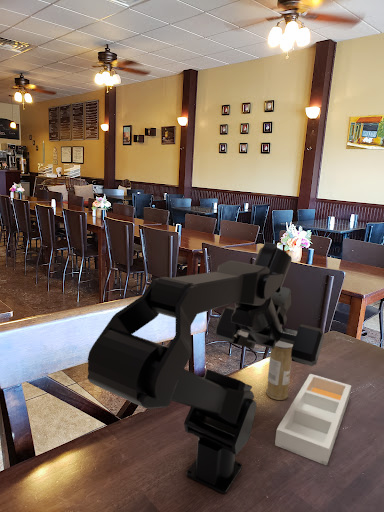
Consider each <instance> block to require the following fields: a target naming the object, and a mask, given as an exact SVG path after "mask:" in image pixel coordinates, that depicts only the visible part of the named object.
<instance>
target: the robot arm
mask: <svg viewBox="0 0 384 512" xmlns="http://www.w3.org/2000/svg"><path fill="white" fill-rule="evenodd" d="M292 260H293V259H292V256H291V255H290V254H288V253H287V252H286V251H285V250H283V249H281V248H279V247H278V245H277V244H276V243H271V242H264V244H263V246H262V247H260V249H259V250H258V253H257V255H256V257H255V259H254V262H253V264H251V263H247V262H240V261H236V260H231V259H230V260H228V261H226V262H225V261H224V262H223V263H221V264H219V265H218V266H217V270H216V271H212V272H204V273H196V274H189V275H183V276H175V277H167V276H161V277H157V278H154V279H153V280H152V281H151V282H150V283H149V285H148V286H147V288H146V289H145V291H144V292H143V294H142V295H141V296H140V297H138V298H137V299H136V300H134V301H132V302H131V303H130V304H128V305H127V306H125V307H123V308H122V309H120V310H118V312H115V314H114V315H112V317H111V319H110V321H108V323H107V324H106V326H105V328H104V329H103V330H102V332H101V333H100V334H99V336H98V337H97V338H96V341H95V342H94V343H93V345H92V347H91V348H90V350H89V352H88V356H87V373H88V374H87V380H88V382H89V383H90V384H92V385H94V386H95V387H98V388H100V389H102V390H104V391H106V392H109V393H110V394H112V395H114V396H115V395H116V396H117V397H120V398H123V399H124V400H127V401H129V402H130V403H133V404H135V405H138V406H139V407H142V408H143V409H147V410H153V409H163V408H167V407H169V406H170V404H171V402H174V403H178V404H181V405H184V406H188V407H190V408H189V411H188V413H187V415H186V418H185V420H184V421H183V422H184V423H183V426H184V431H185V433H187V434H191V435H194V436H196V437H197V445H196V446H197V447H196V459H195V460H194V462H193V463H191V465H190V466H189V468H188V469H187V470H186V472H185V474H186V477H188V478H190V479H192V480H194V481H196V482H198V483H201V484H202V485H204V486H207V487H209V488H210V489H213V490H215V491H217V492H219V493H221V494H226V493H227V492H228V491H229V489H230V488H231V486H232V484H233V483H234V481H235V479H236V478H237V477H238V475H239V474H240V472H241V470H242V467H243V465H242V463H240V462H239V461H236V456H237V455H238V454H239V452H240V451H242V449H243V448H244V447H245V445H246V443H248V441H249V439H250V437H251V433H252V428H253V425H254V420H255V417H256V410H257V401H256V400H255V395H254V392H253V391H252V388H253V386H252V385H250V384H248V383H245V382H244V381H242V380H240V379H238V378H237V379H236V378H234V377H232V376H228V375H225V374H222V373H220V372H217V371H214V370H211V369H210V368H209V369H208V368H206V370H205V374H204V376H203V377H202V376H200V375H198V374H196V373H194V372H192V371H190V370H187V369H185V367H186V366H187V365H188V362H189V361H190V359H191V356H192V325H193V323H194V321H195V319H196V317H197V316H198V315H199V314H202V313H205V312H209V311H212V310H215V309H218V308H222V307H225V306H226V307H225V308H224V309H222V312H221V313H220V317H219V319H218V320H217V323H216V325H215V327H214V328H215V329H214V332H215V335H216V337H217V338H218V340H221V341H225V342H227V343H230V344H234V345H237V346H242V347H244V348H249V349H253V350H254V348H255V346H256V345H258V346H262V347H265V348H268V349H271V348H272V349H274V347H275V344H276V343H277V342H278V341H282V342H286V343H289V344H293V347H292V352H291V362H294V363H298V364H300V365H305V366H310V367H313V366H316V365H317V363H318V360H319V357H320V354H321V353H320V352H321V350H322V346H323V343H324V341H325V340H324V339H325V333H324V331H323V329H322V328H320V327H315V326H311V325H307V324H302V323H301V324H300V325H299V326H298V329H297V330H294V329H290V328H286V327H283V326H285V325H286V324H287V322H288V321H287V320H288V317H287V315H286V314H287V312H288V311H289V309H290V307H291V305H292V295H291V293H292V292H291V291H292V290H291V288H288V287H285V286H283V284H284V281H285V280H286V276H287V274H288V271H289V268H290V266H291V263H292ZM232 304H234V306H235V307H232V306H228V305H232ZM159 314H160V315H163V316H167V317H170V318H174V319H175V335H174V338H172V341H171V342H170V344H169V345H168V346H167V345H164V344H161V343H158V342H156V341H152V340H149V339H146V338H144V337H140V336H137V335H135V333H136V332H138V330H141V329H142V328H144V327H145V326H146V325H148V324H149V323H151V322H152V321H153V320H155V319H156V318H157V317H158V316H159ZM290 334H291V335H290Z"/></svg>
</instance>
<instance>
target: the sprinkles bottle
mask: <svg viewBox="0 0 384 512" xmlns="http://www.w3.org/2000/svg"><path fill="white" fill-rule="evenodd" d="M290 335H291V334H290ZM292 347H293V344H289V343H286V342H282V341H278V342H277V343H276V344H275V347H274V349H272V348H270V356H269V362H268V374H267V385H266V386H267V388H266V390H265V391H266V392H265V393H266V395H267V396H268V397H269V398H271V399H272V400H277V401H282V400H283V401H285V400H286V399H287V398H288V396H289V385H290V384H289V383H290V377H291V366H292V361H291V360H292V358H291V352H292Z"/></svg>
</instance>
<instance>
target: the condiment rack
mask: <svg viewBox="0 0 384 512" xmlns="http://www.w3.org/2000/svg"><path fill="white" fill-rule="evenodd" d="M351 390H352V385H350V384H348V383H344V382H340V381H336V380H333V379H331V378H326V377H323V376H320V375H316V374H312V373H309V375H308V376H307V378H306V380H305V381H304V383H303V385H302V386H301V388H300V390H299V392H298V393H297V394H296V397H295V398H294V399H293V401H292V403H291V404H290V406H289V408H288V410H287V412H286V413H285V415H284V416H283V418H282V420H281V421H280V423H279V425H278V426H277V428H276V432H275V439H274V440H275V441H274V446H276V447H278V448H281V449H283V450H287V451H289V452H291V453H293V454H295V455H298V456H301V457H304V458H306V459H309V460H311V461H314V462H316V463H319V464H321V465H323V466H328V463H329V461H330V458H331V454H332V453H333V448H334V445H335V442H336V439H337V437H338V433H339V431H340V427H341V425H342V422H343V418H344V416H345V413H346V411H347V410H346V409H347V406H348V404H349V400H350V397H351Z"/></svg>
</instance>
